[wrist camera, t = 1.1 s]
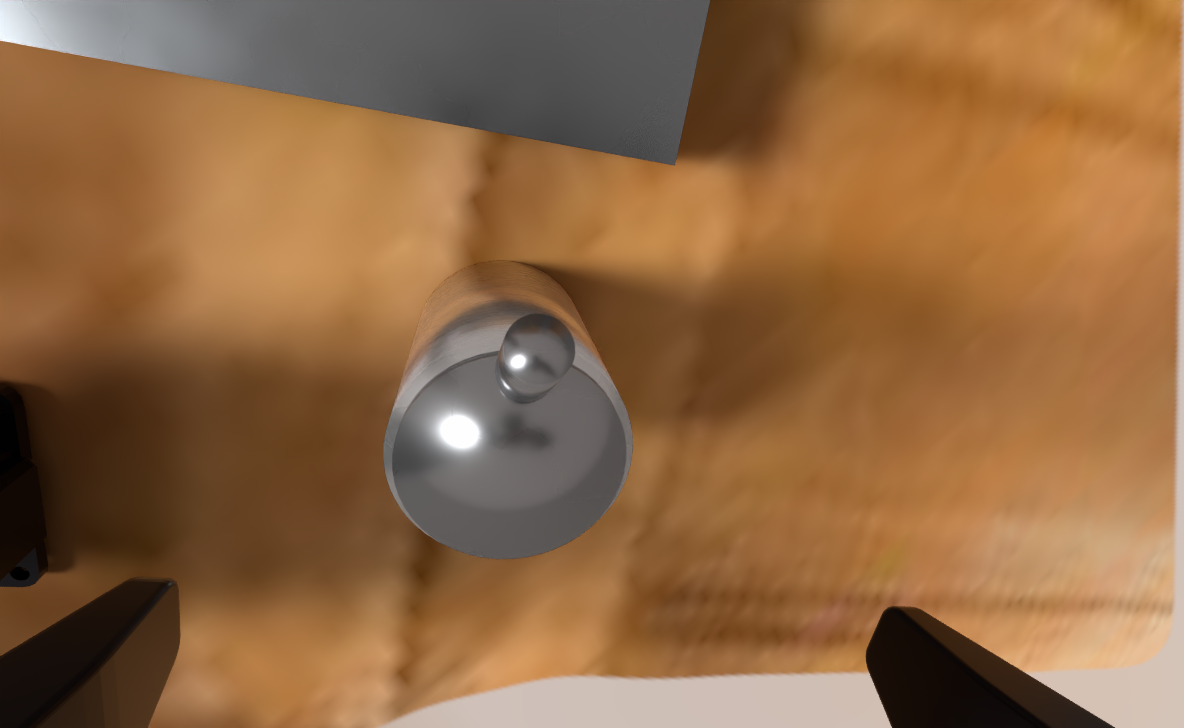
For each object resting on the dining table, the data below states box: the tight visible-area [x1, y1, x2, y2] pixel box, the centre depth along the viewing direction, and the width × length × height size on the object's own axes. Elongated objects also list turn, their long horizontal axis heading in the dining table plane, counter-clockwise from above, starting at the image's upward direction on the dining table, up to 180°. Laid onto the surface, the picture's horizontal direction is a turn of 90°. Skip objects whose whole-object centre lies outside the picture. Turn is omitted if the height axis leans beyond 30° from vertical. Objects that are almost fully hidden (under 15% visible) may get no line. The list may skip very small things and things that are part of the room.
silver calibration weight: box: [383, 261, 633, 559], centre depth 15 cm, size 5×6×9 cm
